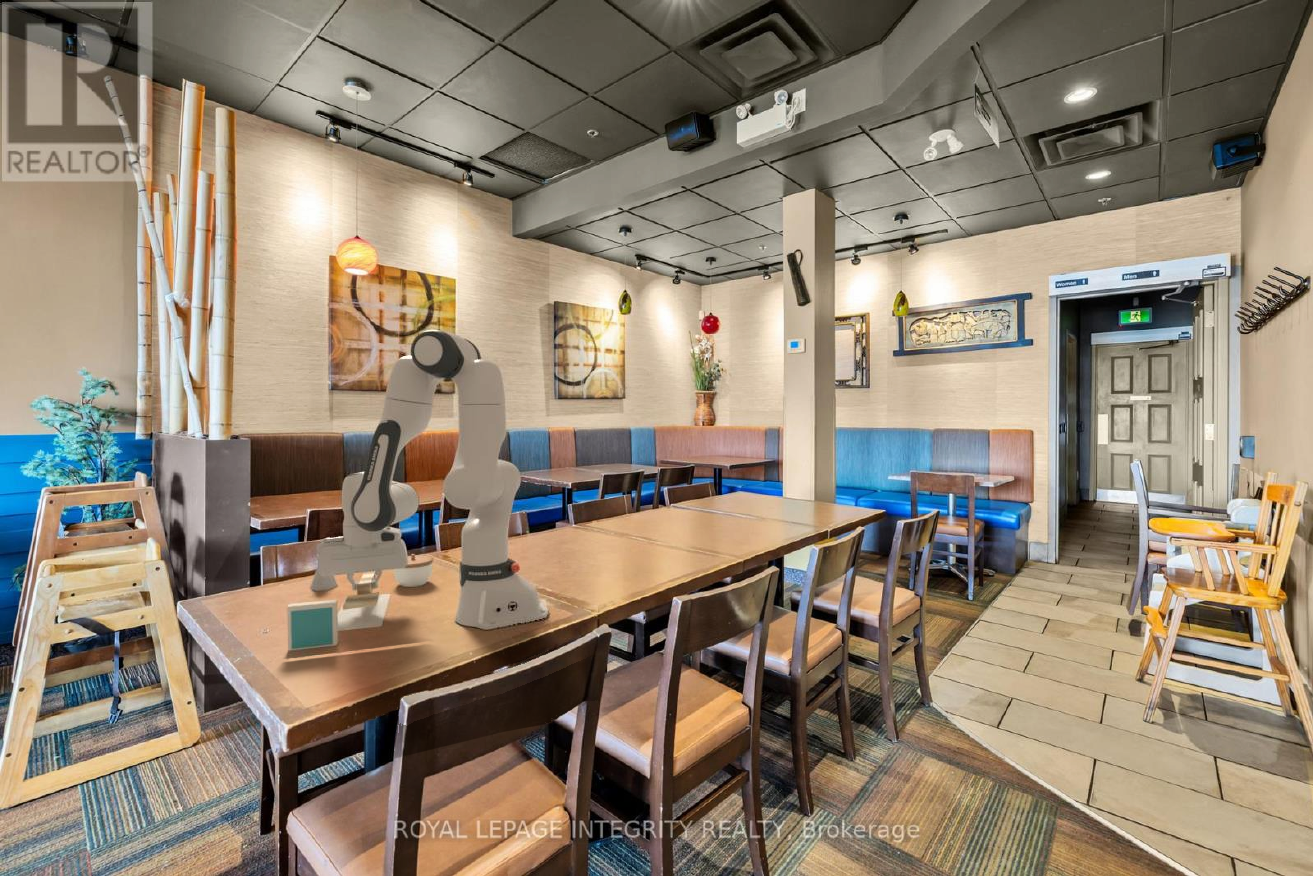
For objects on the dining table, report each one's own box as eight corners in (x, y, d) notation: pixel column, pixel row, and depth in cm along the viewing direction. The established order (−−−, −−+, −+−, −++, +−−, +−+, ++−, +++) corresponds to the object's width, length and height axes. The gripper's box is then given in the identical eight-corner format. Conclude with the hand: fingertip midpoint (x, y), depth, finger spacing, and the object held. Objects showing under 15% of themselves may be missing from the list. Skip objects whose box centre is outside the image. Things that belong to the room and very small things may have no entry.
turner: (355, 584, 154) (355, 573, 154) (384, 581, 157) (383, 570, 157) (342, 609, 134) (342, 597, 134) (376, 605, 136) (375, 593, 136)
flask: (343, 588, 167) (342, 553, 166) (317, 594, 161) (316, 559, 160) (329, 584, 171) (329, 550, 170) (304, 590, 165) (303, 555, 164)
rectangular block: (338, 644, 126) (337, 599, 126) (336, 648, 124) (335, 602, 124) (290, 650, 123) (289, 603, 123) (288, 654, 121) (287, 607, 121)
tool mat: (390, 595, 160) (390, 593, 160) (381, 628, 136) (381, 626, 136) (346, 599, 156) (346, 597, 156) (328, 634, 132) (328, 631, 132)
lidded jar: (429, 578, 177) (429, 548, 176) (436, 587, 168) (436, 555, 167) (391, 584, 171) (390, 552, 171) (396, 593, 162) (395, 560, 162)
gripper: (313, 541, 139) (316, 598, 140) (405, 533, 146) (407, 587, 147) (318, 536, 145) (321, 591, 146) (407, 529, 152) (409, 581, 153)
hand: (365, 589), depth 146 cm, fingers closed on turner, 3 cm apart
